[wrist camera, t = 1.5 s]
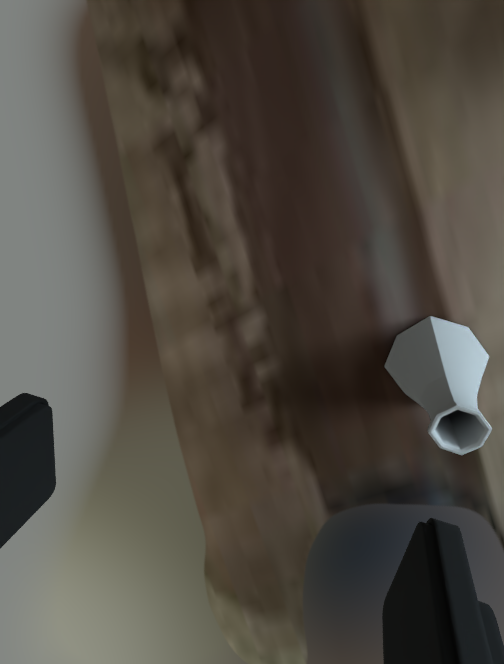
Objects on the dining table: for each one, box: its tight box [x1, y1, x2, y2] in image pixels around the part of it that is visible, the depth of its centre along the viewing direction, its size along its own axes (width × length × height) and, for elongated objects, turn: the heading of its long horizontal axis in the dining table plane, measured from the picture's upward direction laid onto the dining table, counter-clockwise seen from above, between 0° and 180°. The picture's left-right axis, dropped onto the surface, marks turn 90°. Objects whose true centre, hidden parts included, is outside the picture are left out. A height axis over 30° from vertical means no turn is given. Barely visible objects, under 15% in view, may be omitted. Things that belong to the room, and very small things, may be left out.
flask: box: [384, 316, 492, 455], centre depth 29 cm, size 7×7×10 cm
